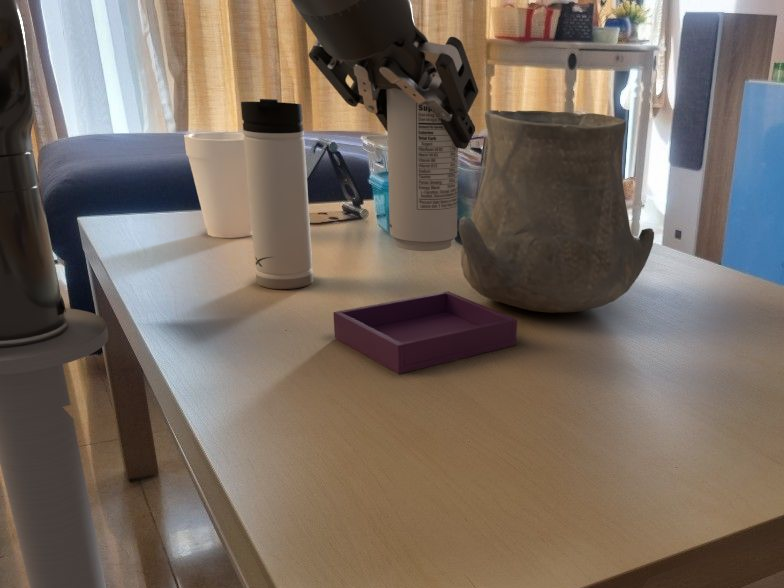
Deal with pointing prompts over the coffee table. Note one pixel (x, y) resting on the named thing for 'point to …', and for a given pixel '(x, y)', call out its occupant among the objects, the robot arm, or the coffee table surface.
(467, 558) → the coffee table surface
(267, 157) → the travel mug
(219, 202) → the foam cup
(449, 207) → the energy drink can
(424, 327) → the tray
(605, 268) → the vessel
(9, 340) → the robot arm
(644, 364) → the coffee table surface
